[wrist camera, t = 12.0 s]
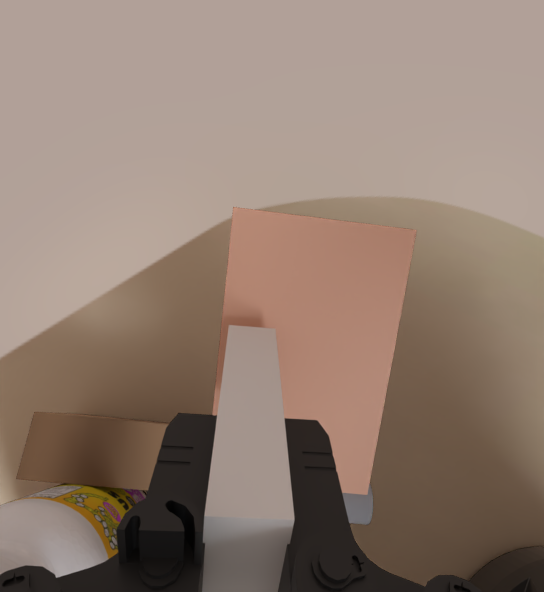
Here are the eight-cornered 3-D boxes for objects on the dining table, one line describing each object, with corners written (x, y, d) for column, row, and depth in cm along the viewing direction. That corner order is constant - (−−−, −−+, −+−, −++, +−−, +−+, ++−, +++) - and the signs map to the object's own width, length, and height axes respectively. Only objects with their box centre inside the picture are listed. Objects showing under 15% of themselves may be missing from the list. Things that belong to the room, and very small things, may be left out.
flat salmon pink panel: (202, 490, 16) (195, 520, 14) (230, 207, 14) (226, 206, 12) (357, 503, 16) (368, 534, 14) (407, 230, 14) (426, 230, 12)
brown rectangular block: (206, 426, 24) (198, 427, 19) (198, 479, 23) (188, 494, 18) (75, 413, 24) (34, 411, 19) (62, 467, 23) (16, 479, 18)
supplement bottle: (168, 585, 21) (75, 801, 9) (41, 624, 20) (-252, 923, 8) (150, 458, 23) (54, 497, 11) (33, 488, 22) (-214, 567, 10)
